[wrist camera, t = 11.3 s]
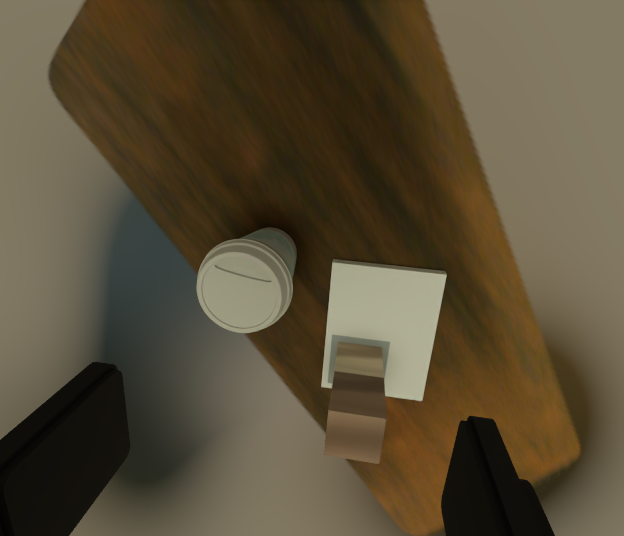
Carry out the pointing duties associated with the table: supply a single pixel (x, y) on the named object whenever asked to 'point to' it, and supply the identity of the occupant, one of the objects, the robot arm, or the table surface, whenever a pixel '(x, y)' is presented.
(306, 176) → the table surface
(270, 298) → the coffee cup
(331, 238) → the table surface
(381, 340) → the build board
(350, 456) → the walnut block
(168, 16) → the table surface
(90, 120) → the table surface
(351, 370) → the beech block
